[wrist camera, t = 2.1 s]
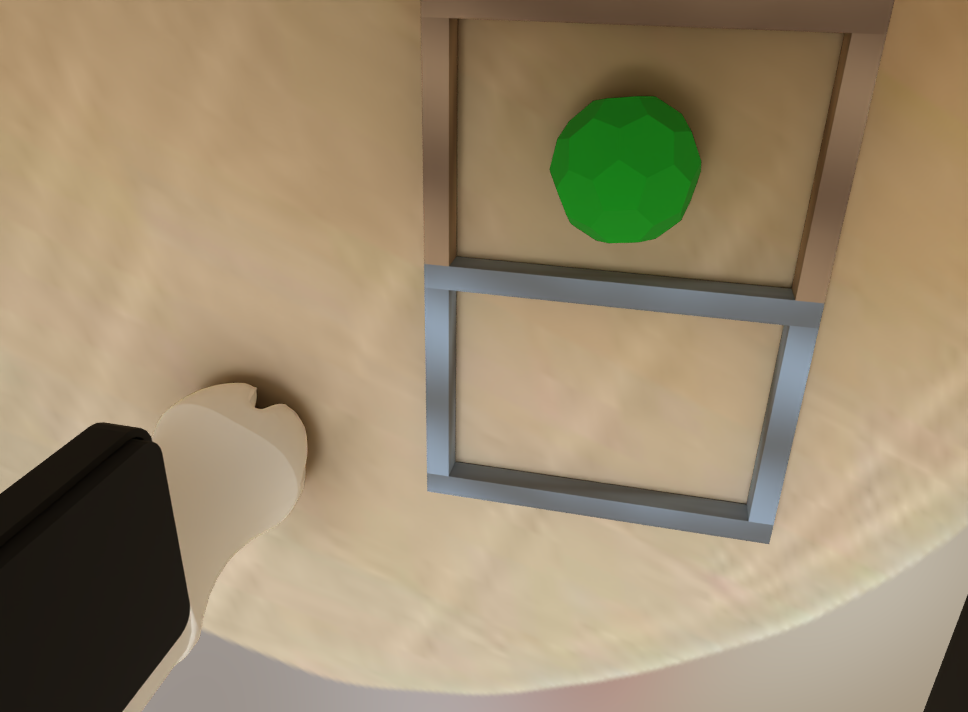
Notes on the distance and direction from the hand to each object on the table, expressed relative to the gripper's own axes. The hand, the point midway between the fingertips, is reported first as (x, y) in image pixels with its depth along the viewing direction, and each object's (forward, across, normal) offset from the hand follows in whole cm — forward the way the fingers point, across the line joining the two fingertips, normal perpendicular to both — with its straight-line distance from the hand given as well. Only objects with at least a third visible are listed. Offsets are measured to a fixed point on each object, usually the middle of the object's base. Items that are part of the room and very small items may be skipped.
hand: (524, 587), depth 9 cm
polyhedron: (+23, 0, 0) cm, 23 cm away
